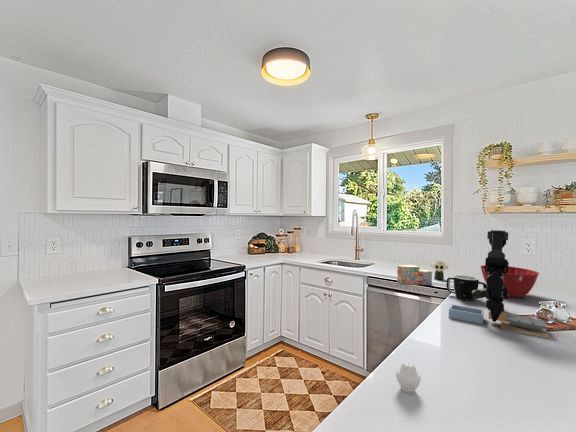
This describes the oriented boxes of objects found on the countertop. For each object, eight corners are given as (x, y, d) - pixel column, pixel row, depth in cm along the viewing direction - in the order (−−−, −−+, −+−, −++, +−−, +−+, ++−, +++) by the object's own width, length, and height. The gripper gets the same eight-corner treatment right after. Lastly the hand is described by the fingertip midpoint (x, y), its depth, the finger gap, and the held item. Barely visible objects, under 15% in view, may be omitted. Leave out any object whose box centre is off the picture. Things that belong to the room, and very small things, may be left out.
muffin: (414, 382, 82) (414, 357, 82) (425, 396, 76) (425, 369, 76) (391, 382, 82) (392, 357, 81) (400, 396, 75) (401, 369, 75)
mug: (473, 295, 176) (473, 275, 175) (488, 303, 160) (489, 281, 159) (444, 293, 177) (444, 273, 177) (456, 301, 161) (457, 279, 161)
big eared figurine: (430, 279, 218) (430, 261, 218) (431, 277, 224) (431, 260, 224) (447, 281, 213) (447, 263, 212) (447, 279, 219) (448, 261, 218)
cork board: (500, 321, 133) (501, 319, 133) (545, 329, 124) (545, 328, 124) (501, 328, 124) (501, 327, 124) (549, 338, 115) (549, 336, 115)
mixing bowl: (552, 302, 165) (553, 274, 165) (499, 300, 165) (500, 273, 165) (514, 289, 193) (515, 265, 193) (469, 288, 194) (470, 264, 193)
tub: (451, 312, 143) (451, 304, 143) (483, 318, 135) (483, 309, 135) (448, 317, 136) (448, 308, 135) (482, 324, 128) (483, 315, 128)
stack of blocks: (426, 283, 206) (427, 265, 206) (431, 285, 199) (432, 266, 199) (396, 282, 204) (397, 264, 204) (401, 285, 197) (401, 266, 197)
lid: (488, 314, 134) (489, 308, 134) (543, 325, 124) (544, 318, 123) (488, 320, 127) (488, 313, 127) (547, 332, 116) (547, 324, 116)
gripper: (474, 278, 142) (473, 311, 142) (472, 285, 126) (471, 322, 126) (503, 281, 135) (502, 316, 135) (504, 290, 120) (503, 328, 120)
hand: (494, 320), depth 130 cm, fingers closed on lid, 3 cm apart
